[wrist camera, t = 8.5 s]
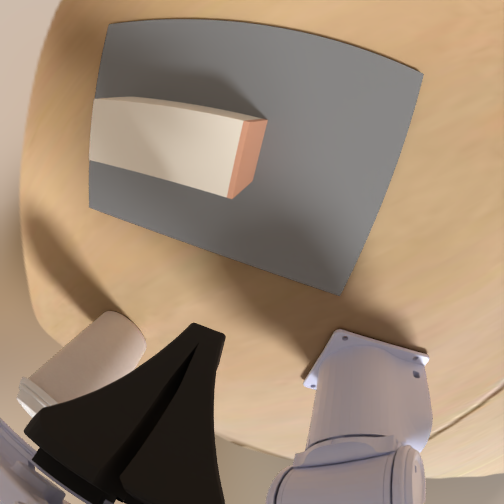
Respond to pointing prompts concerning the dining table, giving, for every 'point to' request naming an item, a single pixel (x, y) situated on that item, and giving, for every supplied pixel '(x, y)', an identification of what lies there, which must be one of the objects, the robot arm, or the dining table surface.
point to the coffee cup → (85, 363)
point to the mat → (265, 141)
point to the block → (178, 142)
